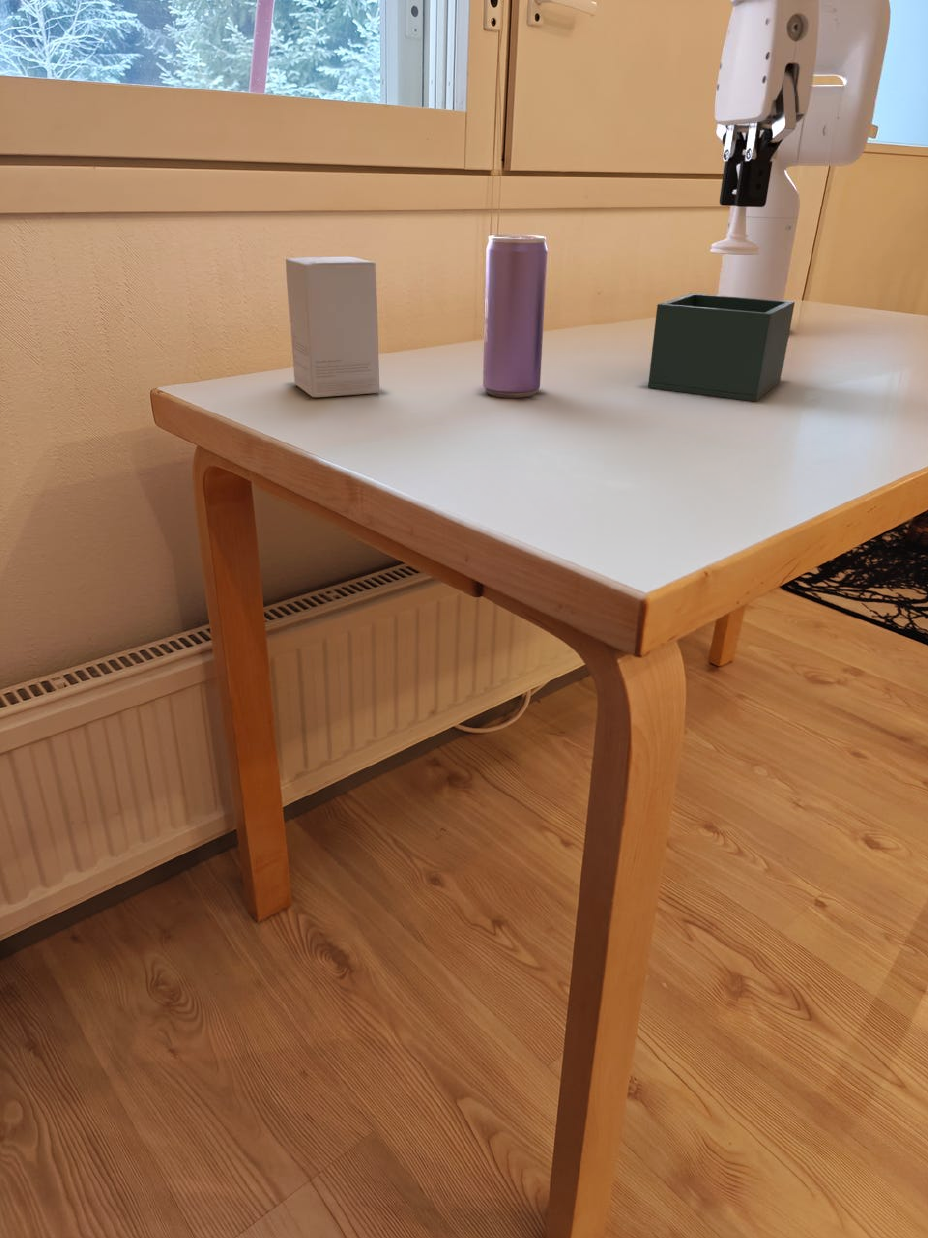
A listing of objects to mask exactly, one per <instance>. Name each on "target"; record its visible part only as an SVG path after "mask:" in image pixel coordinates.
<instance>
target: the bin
mask: <svg viewBox="0 0 928 1238" xmlns="http://www.w3.org/2000/svg"><path fill="white" fill-rule="evenodd" d="M795 303H796V302H795V301H788V300H783V301H778V300H765V299H753V298H740V297H728V296H717V295H713V294H704V293H703V294H701V293H688V294H686V295H682V296H679V297H676V298H672V299H670V300H667V301H664V302H661V303H657V306H656V315H655V323H654V331H653V341H652V349H651V358H650V367H649V375H648V383H647V388H649V389H656V390H657V389H658V390H662V391H663V390H664V391H670V392H671V391H672V392H680V393H686V394H693V395H702V396H709V397H717V398H725V399H733V400H740V401H748V402H754V403H756V402H757V401H758V400H760V398H762V397H763V396H765V395H766V394H767V393H768V392H770V391H771V390H772V389H773V388H774V387H776V386H777V385H778V384H780V382H781V379H782V375H783V374H782V373H783V368H784V363H785V357H786V353H787V346H788V342H789V335H790V329H791V324H792V320H793V314H794V308H795Z"/></svg>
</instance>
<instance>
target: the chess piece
mask: <svg viewBox="0 0 928 1238" xmlns="http://www.w3.org/2000/svg"><path fill="white" fill-rule="evenodd" d="M743 155H746V150H743ZM745 161H747V160H746V156H745ZM739 170H740V164H738V165H737V174H738V177H739ZM733 191H734V192H732V194H736V191H737V189H736V190H733ZM746 208H747V207H738V206H736V207H735V211H734V215H733V219H732V222H731V226H730V230H729V233H728V234H727V235H726V234H724V236H725V238H724V239H722V240H718V241H716V242H713V243H712V244H711V245H710V246H711V247H710V248H711V249H710V250H709V252H710V253H712V254H721V255H723V254H734V255H756V254H759V252H758V249H759V246H758V245H757V244H755V243H753V242H750V241H748V240H747V239H746V237H748V235H746ZM726 237H727V238H726Z"/></svg>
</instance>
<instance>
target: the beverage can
mask: <svg viewBox="0 0 928 1238" xmlns="http://www.w3.org/2000/svg"><path fill="white" fill-rule="evenodd" d="M548 250H549V249H548V246H547V237H546V236H544V235H535V234H534V235H532V234H491V235H489V236H488V242H487V246H486V250H485V251H486V256H485V287H484V288H485V289H484V330H483V364H482V365H483V366H482V368H483V369H482V386H483V388H484V390H485V392H486V394H488V395H489V396H492V397H497V398H506V399H521V398H522V399H524V398H530V397H533V396H535V395H537V392H538V391H539V389H540V387H541V377H542V376H541V375H542V374H541V373H542V356H543V340H544V325H545V323H544V322H545V321H544V320H545V305H546V288H547V287H546V286H547V269H548V268H547V267H548V255H549V254H548V253H549V252H548Z"/></svg>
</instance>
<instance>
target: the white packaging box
mask: <svg viewBox="0 0 928 1238" xmlns="http://www.w3.org/2000/svg"><path fill="white" fill-rule="evenodd" d="M285 264H286V265H285V269H286V271H285V273H286V285H287V298H288V299H287V301H288V311H289V312H288V313H289V325H290V327H289V328H290V339H291V351H292V353H291V354H292V369H293V383H294V385H295V386H297V387H298V388H299V389H301V390H302V391H303V392H305V393H306V394H307V395H309V396H311V398H329V397H342V396H355V395H365V394H366V395H369V394H378V393H379V391H380V366H379V365H380V363H379V362H380V361H379V334H378V333H379V332H378V331H379V330H378V327H379V326H378V303H377V302H378V300H377V297H378V296H377V263H376V262H375V261H371V260H367V259H363V258H359V257H354V256H314V257H288V258H285Z"/></svg>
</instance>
